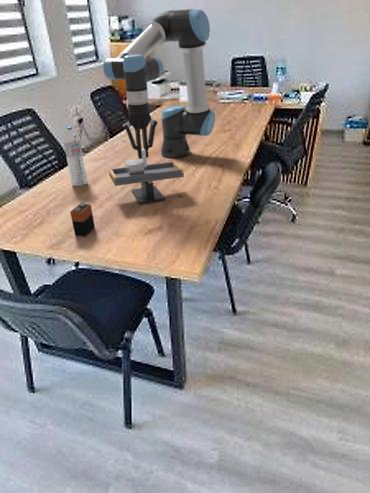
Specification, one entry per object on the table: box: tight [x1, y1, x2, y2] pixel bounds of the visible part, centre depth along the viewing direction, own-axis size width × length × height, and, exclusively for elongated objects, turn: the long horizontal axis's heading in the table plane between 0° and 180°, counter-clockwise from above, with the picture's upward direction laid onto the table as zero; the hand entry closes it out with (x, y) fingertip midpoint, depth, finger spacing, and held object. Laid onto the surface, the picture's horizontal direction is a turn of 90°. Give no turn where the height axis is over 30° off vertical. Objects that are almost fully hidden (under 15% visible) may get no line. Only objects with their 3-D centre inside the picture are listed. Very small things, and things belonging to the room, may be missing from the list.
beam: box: [108, 161, 185, 187], centre depth 157 cm, size 27×12×4 cm, turn 110°
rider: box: [124, 158, 145, 176], centre depth 154 cm, size 6×6×5 cm
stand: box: [131, 181, 166, 206], centre depth 160 cm, size 10×14×7 cm
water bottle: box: [62, 126, 88, 188], centre depth 170 cm, size 7×7×25 cm
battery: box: [70, 201, 95, 237], centre depth 136 cm, size 4×7×10 cm, turn 163°
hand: (144, 166), depth 155 cm, fingers closed
